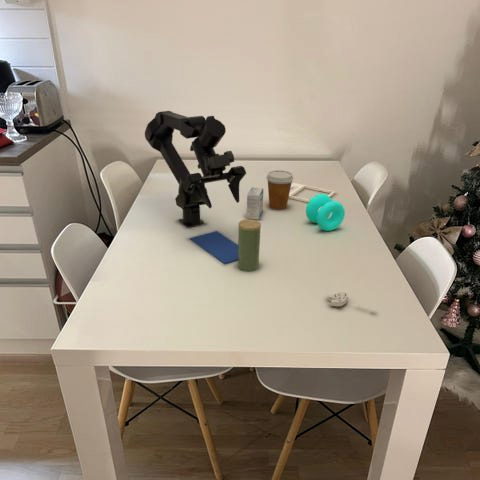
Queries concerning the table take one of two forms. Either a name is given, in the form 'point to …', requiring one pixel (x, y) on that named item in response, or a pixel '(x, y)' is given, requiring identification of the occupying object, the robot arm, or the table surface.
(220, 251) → the blue mat
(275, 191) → the disposable coffee cup
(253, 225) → the tea tin
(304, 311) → the table surface
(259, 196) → the medicine box
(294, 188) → the photo frame
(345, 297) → the game controller
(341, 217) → the donuts
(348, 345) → the table surface
